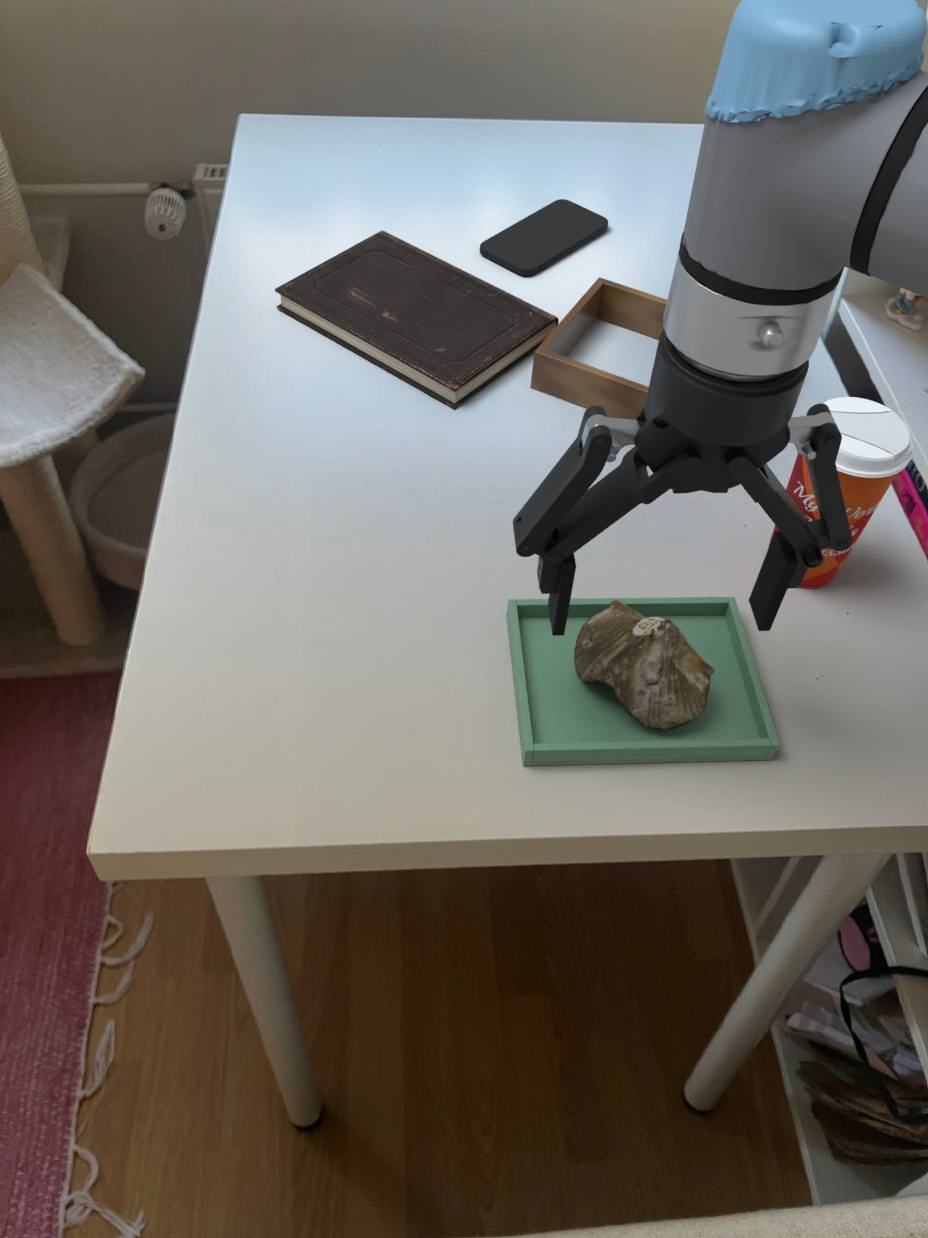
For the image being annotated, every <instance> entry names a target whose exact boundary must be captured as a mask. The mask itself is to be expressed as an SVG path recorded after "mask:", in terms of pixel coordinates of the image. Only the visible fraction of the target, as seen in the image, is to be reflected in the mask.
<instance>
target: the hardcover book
mask: <svg viewBox="0 0 928 1238" xmlns="http://www.w3.org/2000/svg"><path fill="white" fill-rule="evenodd" d="M274 292H275V293H277V294H279V295H280V303H279V304H278V305H276V309H277V310H279V311H281V312H283V313H284V314H286V315H287V316H290V317H291V318H293V319H295V320H296V321H298V322H300V323H301V324H303V325H305V326H307V327H309V328H310V329H312V330H314V331H316V332H318V333H319V334H322V335H323V336H325V337H327V338H328V339H329V340H331V341H333V342H335V343H337V344H339V345H341V346H342V347H344V348H346V349H348V350H349V351H351V352H353V353H355V354H356V355H358V356H360V357H362V358H363V359H365V360H366V361H369V362H370V363H372V364H374V365H376V366H377V367H379V368H381V369H383V370H384V371H386V372H388V373H390V374H391V375H394V376H395V377H397V378H399V379H400V380H402V381H403V382H406V383H407V384H409V385H411V386H413V387H414V388H416V389H418V390H420V391H421V392H423V393H425V394H426V395H429V396H430V397H432V398H434V399H435V400H437V401H439V402H440V403H443V404H444V405H445V406H447V407H449V408H451V409H453V410H455V409H457V407H459V406H461V405H462V404H463V403H465V402H466V401H467V400H468V399H470V398H471V397H473V396H474V395H476V394H477V393H479V392H480V391H481V390H482V389H484V388H486V387H487V386H488V385H489V384H491V383H492V382H494V381H495V380H496V379H498V378H499V377H500V376H502V375H503V374H504V373H506V372H508V371H509V370H510V369H512V368H513V367H514V366H516V365H517V364H518V363H520V362H521V361H522V360H524V359H525V358H526V357H528V356H529V355H531V354H533V353H535V351H536V349H537V348H538V347H539V346H540V345H541V344H542V342H543V341H544V340H545V339H546V338H547V337H548V336H549V334H550V333H551V332H552V331H553V330H554V329H555V327H556V326H557V325H558V324H559V323H560V322H559V321H560V319H559V317H557V316H556V315H554V314H552V313H550V312H548V311H546V310H544V309H542V308H540V307H538V306H536V305H534V304H531V303H529V302H527V301H526V300H523V299H522V298H520V297H517V296H516V295H514V294H512V293H509V292H508V291H505V290H504V289H501V288H500V287H498V286H495V285H494V284H492V283H490V282H487V281H486V280H483V279H481V278H479V277H477V276H475V275H474V274H472V273H469V272H468V271H465V270H463V269H461V268H459V267H457V266H456V265H453V264H451V263H449V262H448V261H446V260H443V259H441V258H439V257H437V256H435V255H434V254H431V253H429V252H427V251H425V250H423V249H421V248H419V247H417V246H415V245H413V244H411V243H409V242H407V241H405V240H403V239H401V238H399V237H397V236H395V235H394V234H391V233H389V232H388V231H386V230H384V229H383V230H382V229H381V230H379V231H378V232H375V233H374V234H372V235H370V236H369V237H367V238H365V239H363V240H361V241H360V242H357V243H356V244H354V245H352V246H351V247H349V248H347V249H345V250H343V251H342V252H340V253H338V254H336V255H334V256H332V257H330V258H328V259H327V260H325V261H323V262H321V263H319V264H317V265H315V266H314V267H312V268H310V269H309V270H307V271H304V272H303V273H301V274H300V275H298V276H295V277H294V278H292V279H290V280H288V281H286V282H285V283H283V284H281V285H279V286H278V287H275V288H274Z"/></svg>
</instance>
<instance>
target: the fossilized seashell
mask: <svg viewBox="0 0 928 1238" xmlns="http://www.w3.org/2000/svg"><path fill="white" fill-rule="evenodd" d="M574 663H575V670H576V672H577V675H578V677H579V678H580V679H581V680H582V681H583V682H584V683H586V684H593V685H598V686H605V687H608V688H610V689H611V690H612V692H613V693H614V694H615V696H616V698H617V700H618V702H619V703H620V706H621V707H622V708H623V709H624V710H626V711H627V712H628V714H629V715H631V716H632V717H633V718H635V719H636V720H637V721H638V722H639V723H640V724H642V725H643V726H645V727H648V728H653V729H661V730H669V729H674V728H676V727H677V726H682V725H685V724H687V723H690V722H692V721H693V720H694V719H696V718H697V717H698V716H700V715H701V714H702V713H703V711H704V710H705V707H706V701H707V697H708V692H709V688H710V677H711V675H712V673H714V672H715V670H714V669H713V668H712V667H711V666H710V665H708V664H707V663H706V662H705V661H704V660H703V659H702V658H701V657H700V656H699V655H698V654H697V653H696V651H695V650H694V649H693V648H692V647H691V646H690V645H689V644H688V642H687V640H686V638H685V637H684V635H683V633H682V632H681V630H680V629H679V628H678V627H677V626H676V625H674V624H673V623H672V621H671V620H670V619H667V618H661V617H650V618H647V617H645V616H643V615H642V614H640V613H638V612H636V611H635V610H633V609H632V608H630V607H628V606H627V605H625V604H623V603H621V602H620V601H618V600H613V601H612V602H611V605H610V606H609V607H607V608H606V609H605V610H603V611H602V612H599V613H597V614H595V615H593V616H592V617H591V618H589V619H588V621H587V622H586V623H585V624H584V625H583V626H582V627H581V630H580V632H579V634H578V636H577V640H576V646H575V650H574Z"/></svg>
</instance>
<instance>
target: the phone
mask: <svg viewBox="0 0 928 1238" xmlns="http://www.w3.org/2000/svg"><path fill="white" fill-rule="evenodd" d="M608 226H609V220H608V218H606V217H605V216H603V215H601V214H599V213H598V212H597V213H596V212H594V211H593V210H590V209H589V208H586V207H584V206H582V205H580V204H577V203H576V202H573V201H572V200H568V199H566V198H560V199H556V200H554V201H552V202H550V203H549V204H547V205H545V206H543V207H542V208H540V209H538V210H536V211H535V212H532V213H531V214H529V215H527V216H526V217H523V218H521V219H520V220H518V221H517V222H515V223H513V224H512V225H510V226H508V227H506V228H505V229H503V230H501V231H499V232H497V233H496V234H494V235H492V236H490V237H488V238H487V239H485V240H484V241H482V242H481V243H480V244H479V254H481V255H482V256H484V257H485V258H487V259H489V260H490V261H493V262H495V263H497V264H499V265H500V266H503V267H504V268H506V269H508V270H510V271H512V272H514V273H516V274H518V275H521V276H526V277H528V276H532V275H535V274H536V273H538V272H540V271H542V270H543V269H545V268H546V267H548V266H550V265H552V264H553V263H555V262H556V261H558V260H559V259H561V258H562V257H564V256H566V255H567V254H569V253H570V252H572V251H574V250H576V249H577V248H579V247H580V246H582V245H584V244H585V243H587V242H589V241H590V240H592V239H593V238H595V237H596V236H599V235H600V234H601V233H603V232H604V231H606V230H607V229H608Z"/></svg>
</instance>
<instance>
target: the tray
mask: <svg viewBox="0 0 928 1238" xmlns="http://www.w3.org/2000/svg"><path fill="white" fill-rule="evenodd" d="M548 600H549V598H521V599H520V598H517V599H516V598H515V599H508V600H507V607H506V615H505V616H506V627H507V633H508V643H509V645H508V646H509V652H510V653H509V654H510V662H511V671H512V679H513V680H512V681H513V690H514V696H515V698H514V699H515V707H516V717H517V724H518V734H519V735H518V736H519V743H520V752H521V762H522V763H521V764H522V767H530V766H531V767H532V766H534V767H535V766H537V767H538V766H567V765H568V766H573V765H576V766H577V765H607V764H608V765H612V764H613V765H615V764H616V765H617V764H656V763H657V764H659V763H661V764H662V763H698V762H699V763H701V762H737V761H738V762H739V761H740V762H741V761H772V760H773V759H774V757H775V755H776V753H777V751H778V749H779V748H780V745H781V744H780V741H779V738H778V734H777V731H776V727H775V725H774V722H773V718H772V714H771V712H770V708H769V705H768V701H767V698H766V695H765V691H764V688H763V685H762V681H761V678H760V675H759V672H758V669H757V665H756V662H755V659H754V656H753V652H752V649H751V646H750V643H749V639H748V636H747V632H746V628H745V626H744V623H743V619H742V616H741V613H740V609H739V606H738V603H737V600H736V597H735V596H701V597H700V596H697V597H696V596H693V597H692V596H691V597H687V596H685V597H684V596H683V597H607V598H606V597H605V598H604V597H603V598H602V597H601V598H599V597H598V598H571V599H570V605H569V610H568V616H567V622H566V627H565V633H564V635H559V636H553V635H552V628H551V622H550V615H549V608H548ZM613 600H618V601H620V602H621V603H623V604H625V605H627V606H628V607H630V608H632V609H633V610H635V611H636V612H638V613H640V614H642V615H643V616H645V617H647V618H650V617H661V618H667V619H670V620H671V621H672V623H673V624H674V625H676V626H677V627H678V628H679V629H680V630H681V632H682V633H683V635H684V637H685V638H686V640H687V642H688V644H689V645H690V646H691V647H692V648H693V649H694V650H695V651H696V653H697V654H698V655H699V656H700V657H701V658H702V659H703V660H704V661H705V662H706V663H707V664H708V665H710V666H711V667H712V668H713V669H714V670H715V672H714V673H712V675H711V677H710V688H709V692H708V697H707V701H706V707H705V710H704V711H703V713H702V714H701V715H700V716H698V717H697V718H696V719H694V720H693V721H692V722H690V723H687V724H685V725H682V726H677V727H676V728H674V729H669V730H661V729H653V728H648V727H645V726H643V725H642V724H640V723H639V722H638V721H637V720H636V719H635V718H633V717H632V716H631V715H629V714H628V712H627V711H626V710H624V709H623V708H622V707H621V706H620V703H619V702H618V700H617V698H616V696H615V694H614V693H613V692H612V690H611V689H610V688H608V687H605V686H598V685H593V684H586V683H584V682H583V681H582V680H581V679H580V678H579V677H578V675H577V672H576V670H575V663H574V650H575V646H576V640H577V636H578V634H579V632H580V630H581V627H582V626H583V625H584V624H585V623H586V622H587V621H588V619H589V618H591V617H592V616H593V615H595V614H597V613H599V612H602V611H603V610H605V609H606V608H607V607H609V606H610V605H611V602H612V601H613Z"/></svg>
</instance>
